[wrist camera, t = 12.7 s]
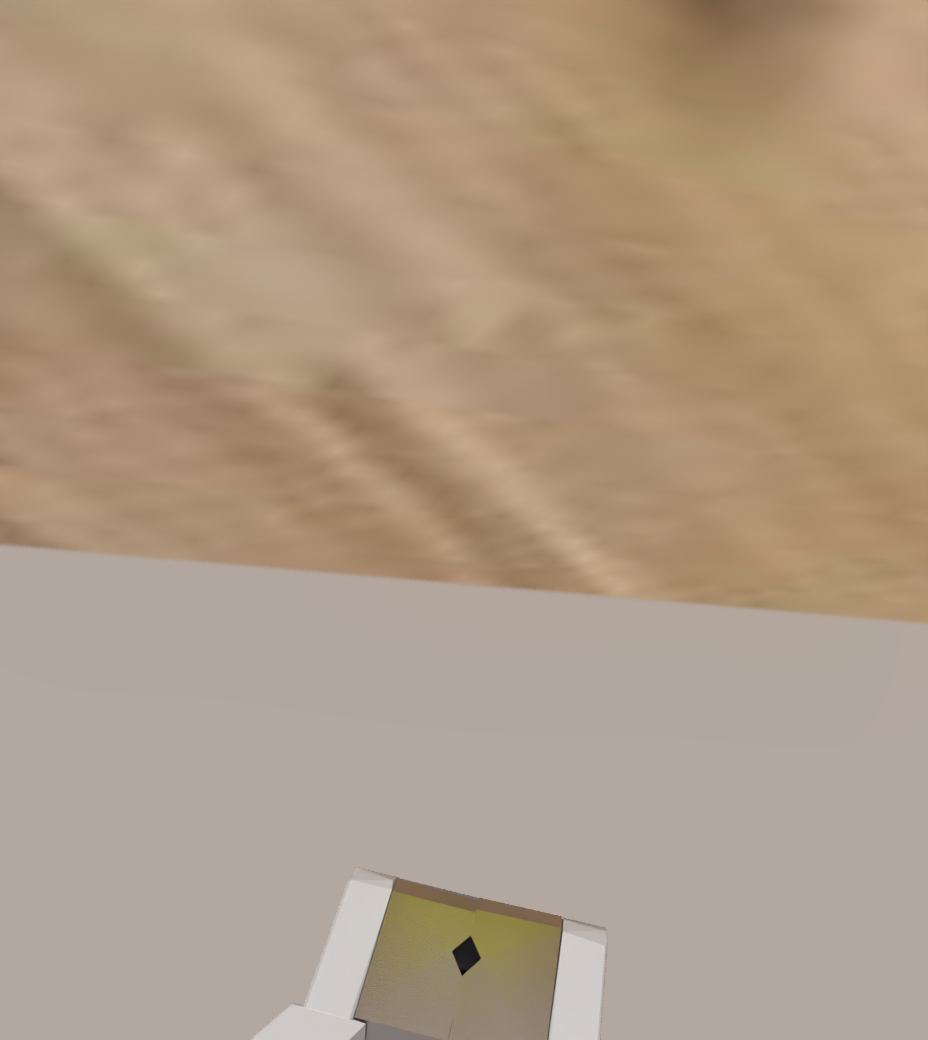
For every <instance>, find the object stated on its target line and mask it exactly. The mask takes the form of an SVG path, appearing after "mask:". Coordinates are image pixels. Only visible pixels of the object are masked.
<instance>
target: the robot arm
mask: <svg viewBox="0 0 928 1040" xmlns="http://www.w3.org/2000/svg"><path fill="white" fill-rule="evenodd" d="M607 946H608V939H607V934H606V929H605V928H603V927H599V926H595V925H591V924H587V923H583V922H579V921H575V920H570V919H566V918H563V919H562V917H561V916H557V915H552V914H548V913H544V912H539V911H535V910H531V909H526V908H522V907H517V906H513V905H509V904H504V903H500V902H495V901H491V900H487V899H482V898H476V897H472V896H469V895H464V894H460V893H456V892H452V891H448V890H444V889H440V888H436V887H432V886H428V885H424V884H420V883H416V882H412V881H408V880H404V879H400V878H398V877H395V876H391V875H386V874H382V873H378V872H374V871H370V870H365V869H361V868H355V870H354V872H353V874H352V875H351V877H350V879H349V881H348V883H347V885H346V888H345V891H344V894H343V897H342V899H341V902H340V905H339V908H338V911H337V913H336V916H335V919H334V922H333V925H332V928H331V930H330V933H329V936H328V939H327V942H326V944H325V947H324V950H323V953H322V956H321V959H320V961H319V964H318V967H317V970H316V973H315V975H314V978H313V981H312V984H311V986H310V989H309V992H308V995H307V998H306V1001H305V1003H304V1005H299V1004H295V1003H290V1004H289V1005H288V1006H287V1007H286V1008H285V1009H284V1010H282V1011H281V1012H280V1013H279V1014H278V1015H277V1016H276V1017H274V1018H273V1019H272V1020H271V1021H270V1022H269V1023H267V1024H266V1025H265V1026H264V1027H263V1028H262V1029H261V1030H259V1031H258V1032H257V1033H256V1034H255V1035H254V1036H253V1037H251V1038H250V1039H249V1040H600V1035H601V1023H602V1010H603V997H604V985H605V972H606V959H607Z"/></svg>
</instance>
